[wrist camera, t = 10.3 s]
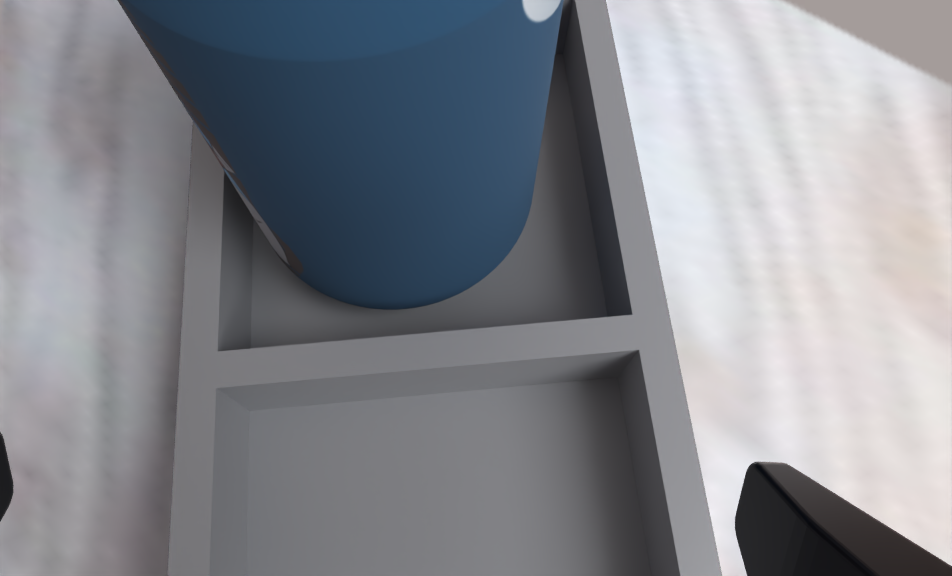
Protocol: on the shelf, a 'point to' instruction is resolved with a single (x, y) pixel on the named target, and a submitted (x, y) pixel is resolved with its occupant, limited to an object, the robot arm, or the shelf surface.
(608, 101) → the can carrier
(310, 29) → the soda can
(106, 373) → the shelf surface
